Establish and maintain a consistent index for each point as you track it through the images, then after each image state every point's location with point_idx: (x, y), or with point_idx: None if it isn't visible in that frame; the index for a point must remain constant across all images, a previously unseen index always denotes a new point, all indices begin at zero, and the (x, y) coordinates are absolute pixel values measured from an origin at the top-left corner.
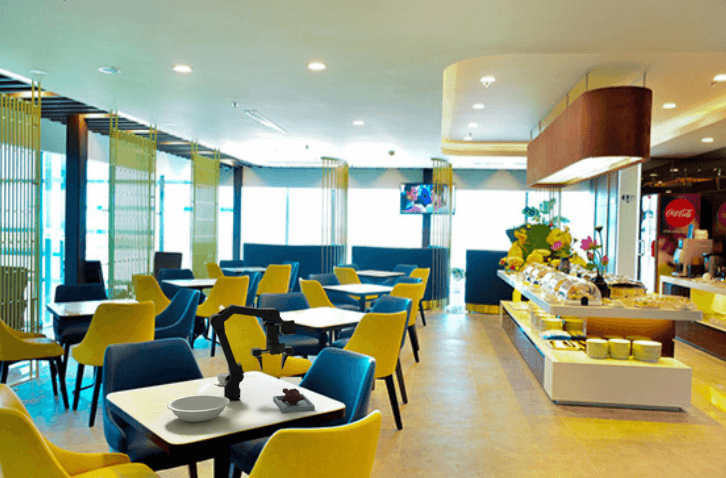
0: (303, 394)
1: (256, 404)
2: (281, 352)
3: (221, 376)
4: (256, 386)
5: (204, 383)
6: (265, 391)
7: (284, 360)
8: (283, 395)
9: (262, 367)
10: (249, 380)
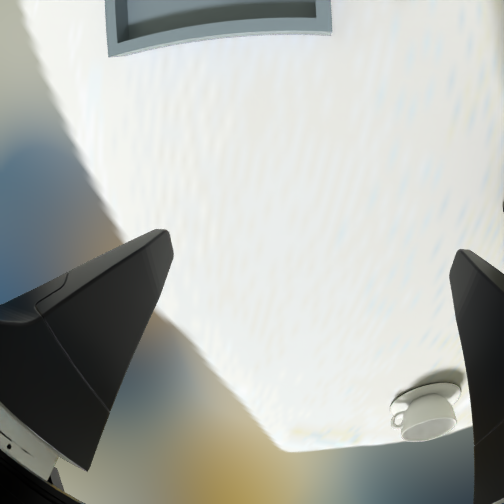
0: (108, 36)
1: (452, 5)
2: (27, 470)
3: (453, 417)
4: (337, 351)
5: None
6: (325, 264)
7: (50, 293)
8: (245, 26)
9: (484, 270)
10: (331, 410)
